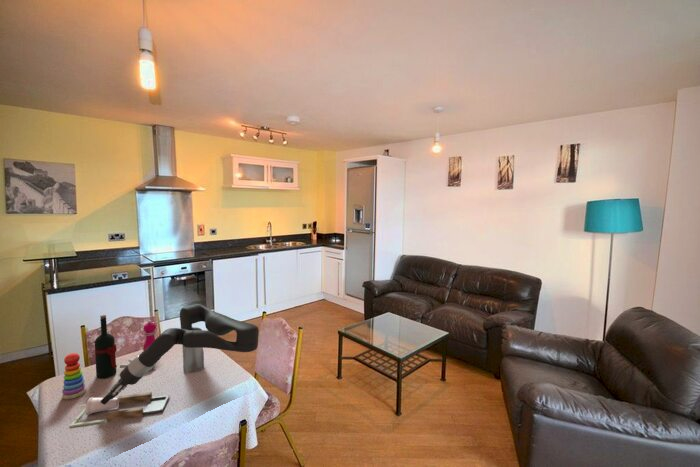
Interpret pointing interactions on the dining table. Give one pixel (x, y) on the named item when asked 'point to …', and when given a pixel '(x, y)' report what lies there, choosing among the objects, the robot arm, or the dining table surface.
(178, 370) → the dining table surface
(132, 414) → the walnut channel
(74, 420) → the frame
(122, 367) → the bunny figurine
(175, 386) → the dining table surface
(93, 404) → the smoothie
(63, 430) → the dining table surface
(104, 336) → the wine bottle
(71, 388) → the stacking toy
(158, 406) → the tray
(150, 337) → the pepper mill
